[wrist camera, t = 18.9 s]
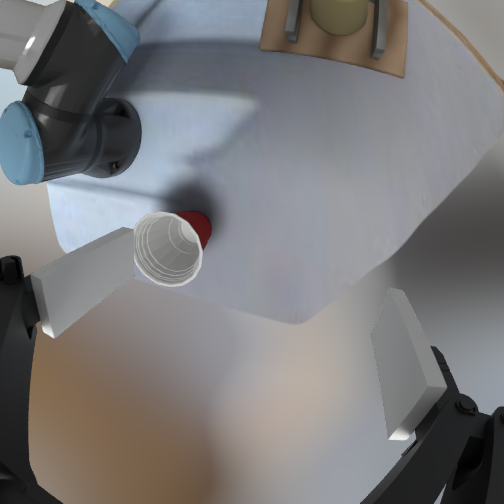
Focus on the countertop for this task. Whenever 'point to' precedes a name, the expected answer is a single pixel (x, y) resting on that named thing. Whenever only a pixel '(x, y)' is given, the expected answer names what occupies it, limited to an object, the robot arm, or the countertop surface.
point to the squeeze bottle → (340, 15)
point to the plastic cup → (171, 246)
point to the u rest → (340, 47)
